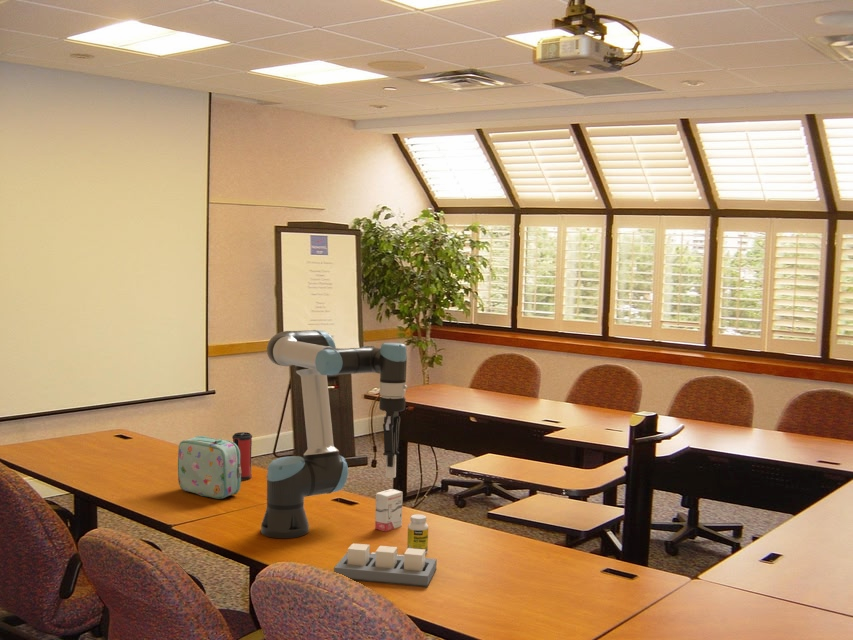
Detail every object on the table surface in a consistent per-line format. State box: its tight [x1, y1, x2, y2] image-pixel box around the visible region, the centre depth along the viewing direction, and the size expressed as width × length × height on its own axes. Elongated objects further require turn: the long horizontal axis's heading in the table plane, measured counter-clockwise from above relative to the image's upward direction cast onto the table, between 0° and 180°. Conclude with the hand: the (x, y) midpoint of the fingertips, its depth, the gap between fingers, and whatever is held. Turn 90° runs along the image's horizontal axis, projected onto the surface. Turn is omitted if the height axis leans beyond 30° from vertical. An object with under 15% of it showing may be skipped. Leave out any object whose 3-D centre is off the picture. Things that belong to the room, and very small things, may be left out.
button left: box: [347, 543, 371, 566], centre depth 239 cm, size 5×5×4 cm
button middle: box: [375, 545, 398, 568], centre depth 238 cm, size 5×5×4 cm
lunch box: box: [177, 435, 242, 500], centre depth 316 cm, size 27×10×21 cm, turn 58°
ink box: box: [374, 488, 404, 532], centre depth 281 cm, size 9×5×12 cm, turn 142°
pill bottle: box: [406, 514, 429, 555], centre depth 256 cm, size 6×6×11 cm
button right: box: [403, 548, 426, 571], centre depth 236 cm, size 5×5×4 cm
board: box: [333, 551, 437, 588], centre depth 238 cm, size 26×14×3 cm, turn 80°
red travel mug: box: [231, 431, 253, 481], centre depth 340 cm, size 8×8×18 cm
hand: (390, 476), depth 249 cm, fingers closed
